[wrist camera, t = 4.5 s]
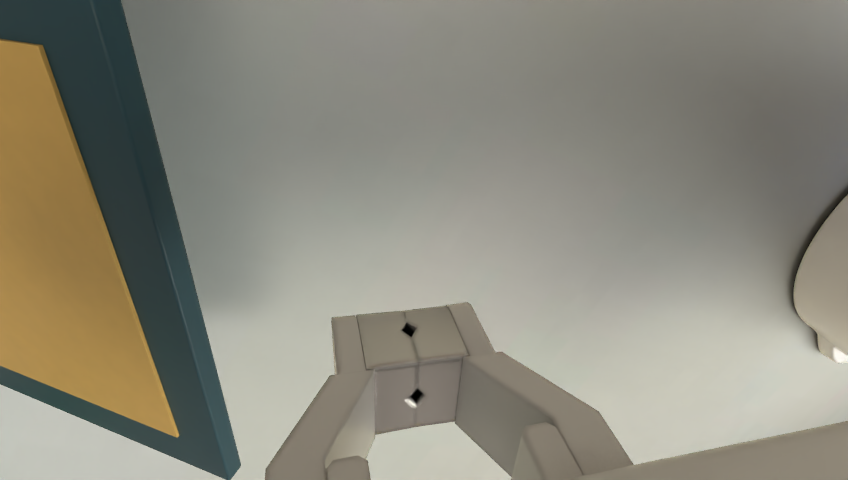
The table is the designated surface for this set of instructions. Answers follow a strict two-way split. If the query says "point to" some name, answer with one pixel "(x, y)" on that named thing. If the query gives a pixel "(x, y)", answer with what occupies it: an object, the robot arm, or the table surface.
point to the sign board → (97, 241)
